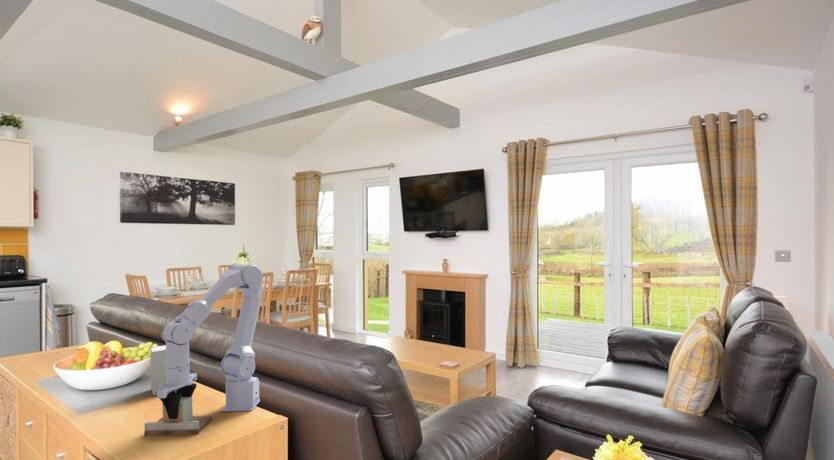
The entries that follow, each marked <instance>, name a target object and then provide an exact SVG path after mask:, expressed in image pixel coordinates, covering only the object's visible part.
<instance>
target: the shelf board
mask: <svg viewBox="0 0 834 460" xmlns="http://www.w3.org/2000/svg"><path fill="white" fill-rule="evenodd" d="M190 421H199V429H198V430H165V431H145V430H144V432H143V433H144V436H145V437H146V436H148V437H149V436H153V437H154V436H180V435H198V434H200V433H201V431H203V430H204V429H205V428H206V427H208V425H209V424H210V423H211V422H212V421H213V416H212V415H197V416H196V415H195V416H193V419H191V420H190ZM156 422H163V416H162V417H160V419H157V421H156Z"/></svg>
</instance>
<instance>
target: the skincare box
mask: <svg viewBox="0 0 834 460" xmlns="http://www.w3.org/2000/svg"><path fill="white" fill-rule="evenodd" d="M149 349H150V354H149V356H150V384H151V385H150V387H151V393H152V395H153V396H157V391H158V390H159V389H161V388H162V387H163V385H164V384H165V383H166V344H165V345H158V346H154V347H150V348H149Z"/></svg>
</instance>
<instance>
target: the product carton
mask: <svg viewBox="0 0 834 460" xmlns="http://www.w3.org/2000/svg"><path fill="white" fill-rule="evenodd" d="M193 414H194V413H193V396H192V397H181V399H180V403H179V411H178V417H177V419H169V418H168V414H167V411H166V408H165V406H164V404H163V403H162V417H163V422H174V421H190V420H191V419H193Z"/></svg>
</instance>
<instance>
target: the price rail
mask: <svg viewBox="0 0 834 460" xmlns="http://www.w3.org/2000/svg"><path fill="white" fill-rule="evenodd" d="M143 426H144V431H165V430H198V429H199V421H174V422H157V421H150V422H149V421H146V422H144V425H143Z"/></svg>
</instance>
